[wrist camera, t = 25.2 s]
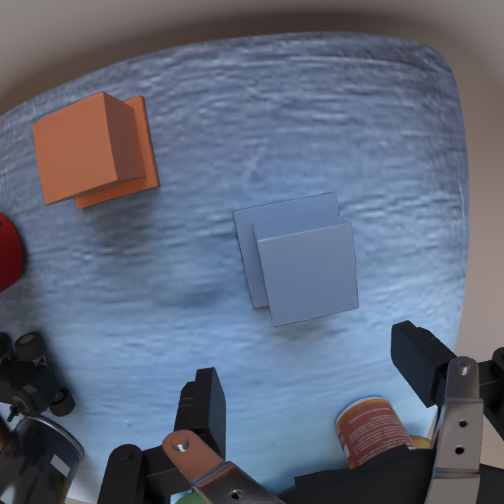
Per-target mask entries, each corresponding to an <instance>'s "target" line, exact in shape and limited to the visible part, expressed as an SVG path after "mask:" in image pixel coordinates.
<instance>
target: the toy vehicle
mask: <svg viewBox="0 0 504 504" xmlns="http://www.w3.org/2000/svg"><path fill="white" fill-rule="evenodd" d="M14 345H15V348H16V350H17V353H18V354H19V356H20V358H21V360H22V361H18V360H10V357H9V355H8V350H9V348H10V345H9V343H8V341H7V338H6V336H5V334H4V333H3V332H0V402H2V403H7V404H11V405H13V406H10V410H11V413H10V415H9V417H8V419H7V421H8V422H11V421H12V419H13V417H14V416H18V415H19V414H20V413H21V414H22V415H25V416H30V417H34V418H37V416H38V415H39V414H40V413H42V412H44V411H46V410H47V408H48V407H49V409H50V410H51V412H52V413H53V414H54V415H55V416H58V417H60V416H65V415H68V414H69V413H71V412H72V411H73V409H74V408H75V401H74V399H73V397H72V396H71V394H70V393H69V391H68V390H67V389H66V388H61V385H60V384H59V382H58V380H57V378H56V377H55V375H54V373H53V371H52V370H51V369H50V367H49V365H48V363H47V359H46V357H45V355H44V353H45V351H46V347H45V344H44V342H43V339H42V337H41V335H40V334H39V333H38V332H30V333H27V334H25V335H23V336H21V337H20V338H18V339H17V340H16V342H15V344H14ZM3 359H4V360H3Z"/></svg>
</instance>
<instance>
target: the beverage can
mask: <svg viewBox="0 0 504 504" xmlns="http://www.w3.org/2000/svg"><path fill="white" fill-rule="evenodd" d="M22 268H23V249H22V244H21V240H20V237H19V234H18V232H17V230H16V228H15V226H14V225H13V223H12V222H11V221H10V219H9V218H8V217H6V216H5V215H4V214H2V213H0V293H1V292H2V291H4V290H5V289H6V288H8V287H9V286H11V285H12V284H14V283H15V282H16V281H17V280H18V279H19V277H20V275H21V272H22Z"/></svg>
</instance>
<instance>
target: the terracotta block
mask: <svg viewBox="0 0 504 504" xmlns="http://www.w3.org/2000/svg"><path fill="white" fill-rule="evenodd" d="M33 131H34V140H35V148H36V155H37V162H38V169H39V174H40V180H41V185H42V190H43V195H44V200H45V204H46V205H50V204H53V203H57V202H62V201H66V200H70V199H74V198H78V197H83V196H86V195H89V194H92V193H95V192H98V191H102V190H105V189H108V188H111V187H114V186H118V185H121V184H124V183H128V182H131V181H135V180H138V179H142V178H145V177H146V174H145V170H144V165H143V160H142V155H141V149H140V144H139V139H138V133H137V127H136V122H135V115H134V109H133V107H131V106H129V105H128V104H126V103H124V102H122V101H120V100H118V99H116V98H115V97H113V96H111V95H109V94H107V93H105V92H103V91H102V92H100V93H97V94H95V95H92V96H90V97H88V98H85V99H83V100H81V101H79V102H76V103H74V104H72V105H70V106H68V107H66V108H63V109H61V110H59V111H57V112H55V113H53V114H51V115H49V116H47V117H46V118H44V119H42V120H40V121H38V122H36V123H34V124H33Z"/></svg>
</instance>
